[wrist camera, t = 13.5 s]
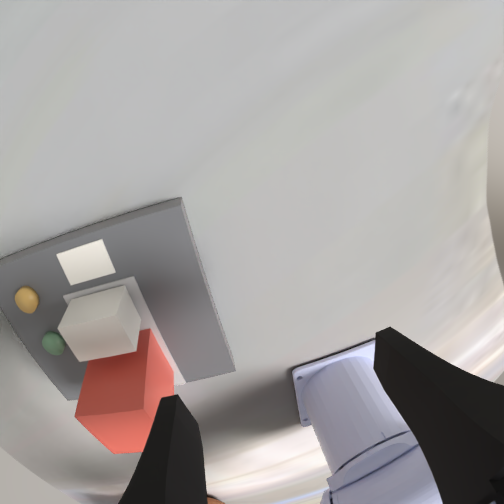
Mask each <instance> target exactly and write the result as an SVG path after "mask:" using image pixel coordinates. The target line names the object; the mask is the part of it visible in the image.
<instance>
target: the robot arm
mask: <svg viewBox="0 0 504 504" xmlns="http://www.w3.org/2000/svg"><path fill="white" fill-rule="evenodd" d="M292 376H293V381H294V387H295V393H296V399H297V405H298V410H299V416H300V422H301V426H303V427H306V426H309V425H312V426H313V429H314V431H315V434H316V436H317V439H318V441H319V443H320V446H321V448H322V451H323V453H324V456H325V458H326V461H327V463H328V466H329V468H330V471H331V473H332V475H333V476H331V477H329V478H327V482H328V484H329V487H330V488H329V489H327V490H325V491H324V493H323V496H322V500H321V502H320V504H504V386H503V385H500V384H496V383H493V382H490V381H488V380H485V379H482V378H480V377H478V376H475V375H473V374H470V373H468V372H466V371H464V370H462V369H460V368H458V367H456V366H454V365H452V364H450V363H448V362H447V361H445V360H443V359H441V358H440V357H438V356H436V355H434V354H433V353H431V352H429V351H428V350H426V349H424V348H423V347H421V346H420V345H418V344H416V343H415V342H413V341H412V340H410V339H409V338H407V337H406V336H404V335H402V334H401V333H399V332H398V331H396V330H395V329H393V328H391V327H388V328H386V329H384V330H381V331H379V332H376V338H375V340H373V341H370V342H368V343H365V344H363V345H360V346H358V347H355V348H352V349H350V350H347V351H344V352H342V353H339V354H336V355H333V356H330V357H328V358H325V359H322V360H319V361H316V362H313V363H310V364H307V365H304V366H301V367H297V368H295V369H294V370H293V371H292ZM118 504H208V500H207V491H206V480H205V469H204V457H203V447H202V442H201V436H200V431H199V427H198V423H197V422H196V420H195V419H194V417H193V416H192V415H191V413H190V412H189V410H188V409H187V407H186V406H185V404H184V403H183V402H182V400H181V399H180V397H179V396H178V394H177V395H172V396H167V397H162V398H161V399H160V402H159V405H158V408H157V412H156V415H155V418H154V421H153V424H152V427H151V430H150V433H149V436H148V439H147V441H146V444H145V447H144V450H143V452H142V455H141V457H140V460H139V462H138V465H137V467H136V469H135V472H134V474H133V476H132V478H131V481H130V483H129V485H128V487H127V489H126V491H125V492H124V494H123V496H122V498H121V500H120V501H119V503H118Z"/></svg>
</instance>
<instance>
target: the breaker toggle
mask: <svg viewBox="0 0 504 504" xmlns="http://www.w3.org/2000/svg"><path fill="white" fill-rule="evenodd" d="M140 324H141V318H140V316H139V314H138V312H137V310H136V308H135V306H134V304H133V301H132V299H131V297H130V295H129V293H128V291H127V289H126V286H125V285H123V286H120V287H116V288H112V289H108V290H105V291H101V292H97V293H93V294H90V295H86V296H82V297H79V298H75V299H71V301H70V303H69V305H68V307H67V309H66V312H65V314H64V316H63V318H62V320H61V322H60V324H59V326H58V328H57V329H58V330H59V332H60V334H61V335H62V337H63V338H64V340H65V341H66V343H67V344H68V346H69V347H70V349H71V350H72V352H73V353H74V355H75V356H76V358H77V359H78V360H79V362H82V361H88V360H94V359H99V358H105V357H110V356H115V355H120V354H125V353H130V352H135V351H136V350H137V343H138V336H139V330H140Z"/></svg>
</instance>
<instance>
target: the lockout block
mask: <svg viewBox="0 0 504 504" xmlns="http://www.w3.org/2000/svg"><path fill="white" fill-rule="evenodd" d="M172 395H174V371H173V370H172V368H171V366H170V364H169V362H168V361H167V359H166V357H165V355H164V353H163V351H162V349H161V348H160V346H159V344H158V342H157V340H156V338H155V336H154V334H153V332H152V330H151V328H149V329H145V330H141V331H139V336H138V343H137V350H136V351H135V352H130V353H125V354H120V355H115V356H110V357H105V358H99V359H94V360H89V361H88V364H87V368H86V372H85V375H84V379H83V383H82V387H81V391H80V395H79V399H78V404H77V408H76V412H75V418H76V419H77V420H78V421H79V422H80V423H81V424H82V425H83V426H84V427H85V428H86V429H87V430H88V431H89V432H90V433H91V434H92V435H94V436H95V437H96V438H97V439H98V440H99V441H100V442H101V443H102V444H103V445H104V446H105V447H107V448H108V449H109V450H110V451H111V452H112V453H113V454H119V453H133V452H143V450H144V447H145V444H146V441H147V439H148V436H149V433H150V430H151V427H152V424H153V421H154V418H155V415H156V412H157V408H158V405H159V402H160V399H161V398H162V397H167V396H172Z"/></svg>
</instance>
